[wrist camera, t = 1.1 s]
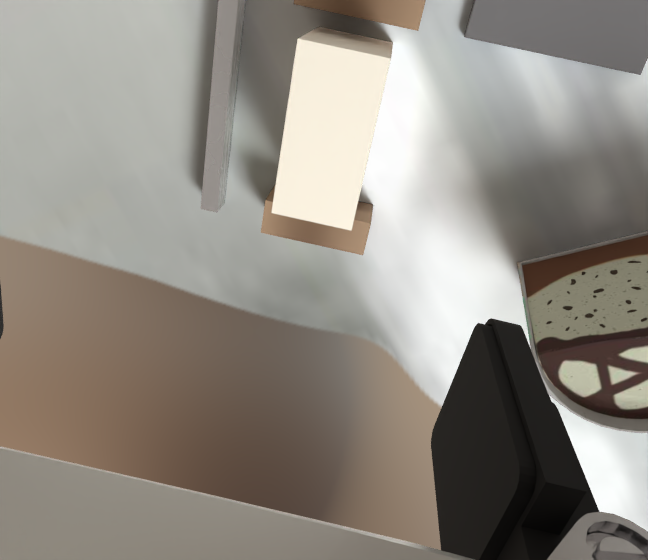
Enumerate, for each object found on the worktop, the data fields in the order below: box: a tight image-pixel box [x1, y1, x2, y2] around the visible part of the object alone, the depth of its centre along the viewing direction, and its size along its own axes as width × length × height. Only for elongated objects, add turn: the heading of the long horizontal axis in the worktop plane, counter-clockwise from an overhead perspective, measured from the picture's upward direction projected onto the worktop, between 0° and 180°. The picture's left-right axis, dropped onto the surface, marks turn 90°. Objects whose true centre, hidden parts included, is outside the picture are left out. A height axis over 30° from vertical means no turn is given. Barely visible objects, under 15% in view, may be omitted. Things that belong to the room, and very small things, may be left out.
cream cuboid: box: [271, 27, 393, 231], centre depth 29 cm, size 4×8×7 cm, turn 169°
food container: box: [517, 231, 648, 433], centre depth 30 cm, size 12×6×10 cm, turn 109°
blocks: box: [201, 0, 426, 255], centre depth 30 cm, size 10×14×3 cm
